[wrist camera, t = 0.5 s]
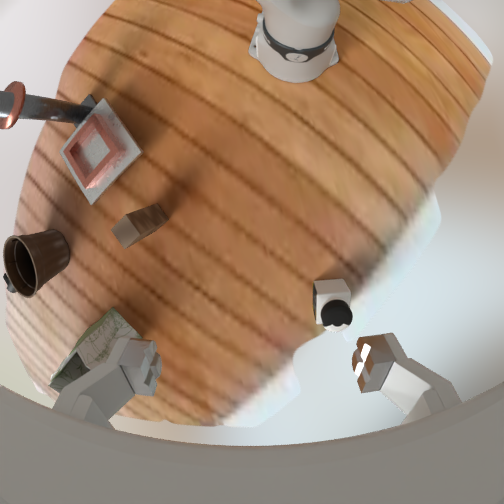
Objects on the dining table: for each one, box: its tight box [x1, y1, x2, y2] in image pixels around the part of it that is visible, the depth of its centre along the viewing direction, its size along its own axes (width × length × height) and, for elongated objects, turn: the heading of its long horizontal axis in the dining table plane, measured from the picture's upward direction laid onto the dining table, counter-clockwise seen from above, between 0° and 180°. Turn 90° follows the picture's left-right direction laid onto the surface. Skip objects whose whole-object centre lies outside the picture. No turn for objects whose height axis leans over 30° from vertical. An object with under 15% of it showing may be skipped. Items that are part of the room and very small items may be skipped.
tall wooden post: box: [111, 204, 169, 249], centre depth 51 cm, size 4×4×14 cm
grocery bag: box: [48, 307, 142, 393], centre depth 60 cm, size 32×14×23 cm, turn 131°
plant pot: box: [3, 230, 69, 298], centre depth 55 cm, size 16×16×16 cm
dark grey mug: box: [3, 273, 17, 293], centre depth 64 cm, size 10×7×7 cm
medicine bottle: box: [313, 279, 353, 332], centre depth 54 cm, size 7×7×12 cm
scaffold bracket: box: [0, 81, 144, 205], centre depth 38 cm, size 26×17×30 cm, turn 37°
